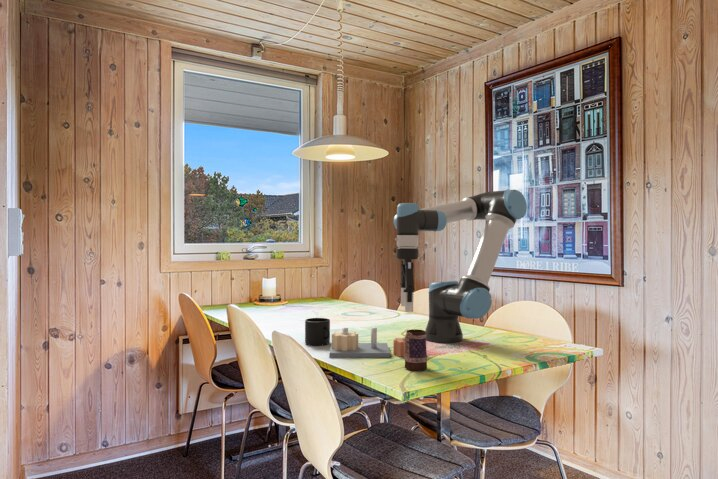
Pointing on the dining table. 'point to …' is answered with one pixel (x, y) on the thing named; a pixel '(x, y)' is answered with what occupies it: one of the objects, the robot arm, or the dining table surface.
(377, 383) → the dining table surface
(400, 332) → the dining table surface
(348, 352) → the gear board
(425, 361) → the mug
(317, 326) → the mug
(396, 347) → the gear
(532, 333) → the dining table surface
